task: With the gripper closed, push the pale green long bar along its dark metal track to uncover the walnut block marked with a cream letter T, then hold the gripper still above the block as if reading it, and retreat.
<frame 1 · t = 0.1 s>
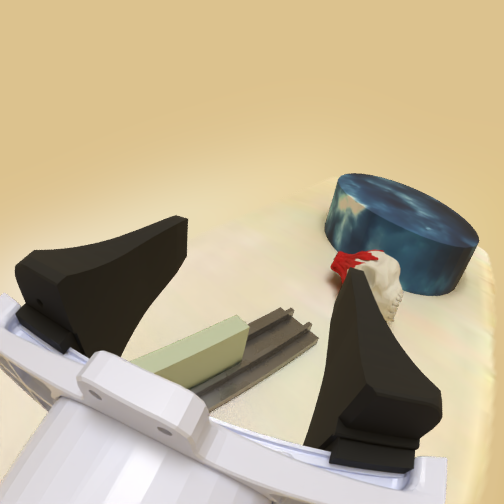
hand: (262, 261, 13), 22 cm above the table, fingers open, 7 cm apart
multicoloured piece: (359, 299, 49), on the table, touching cylinder
pale green long bar: (182, 369, 27), point 4 cm above the table, slide at 0.0 cm
track: (182, 392, 30), on the table
cylinder: (393, 250, 68), on the table, touching multicoloured piece
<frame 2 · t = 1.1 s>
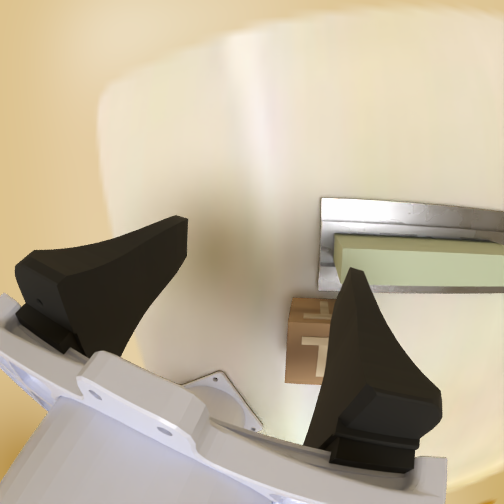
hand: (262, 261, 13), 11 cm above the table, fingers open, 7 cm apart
pale green long bar: (436, 258, 18), point 4 cm above the table, slide at 0.0 cm
track: (417, 247, 22), on the table
block: (321, 326, 25), on the table
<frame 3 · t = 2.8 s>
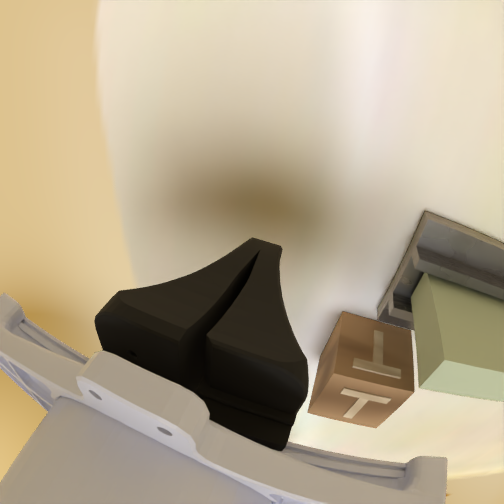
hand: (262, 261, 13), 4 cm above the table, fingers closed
track: (501, 299, 15), on the table
block: (363, 344, 20), on the table
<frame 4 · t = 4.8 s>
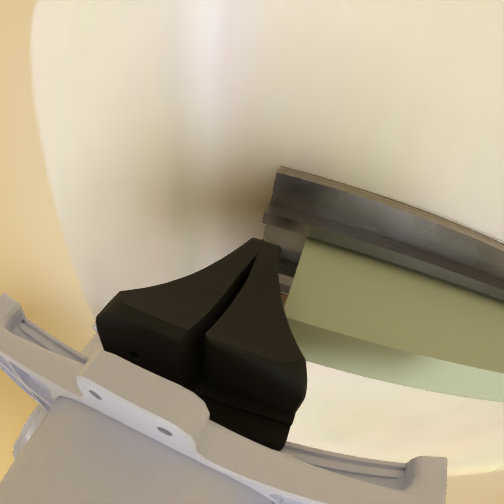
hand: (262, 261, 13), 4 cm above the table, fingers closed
pale green long bar: (432, 325, 12), point 4 cm above the table, slide at 1.2 cm, touching gripper
track: (404, 266, 16), on the table
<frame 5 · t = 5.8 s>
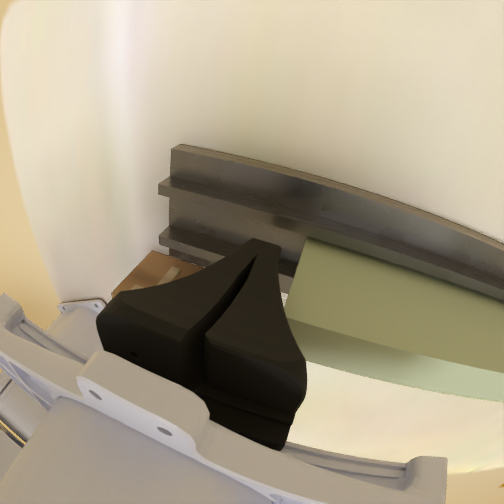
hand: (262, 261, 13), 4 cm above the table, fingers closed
pale green long bar: (432, 325, 12), point 4 cm above the table, slide at 6.9 cm, touching gripper
track: (309, 236, 17), on the table
block: (183, 287, 22), on the table
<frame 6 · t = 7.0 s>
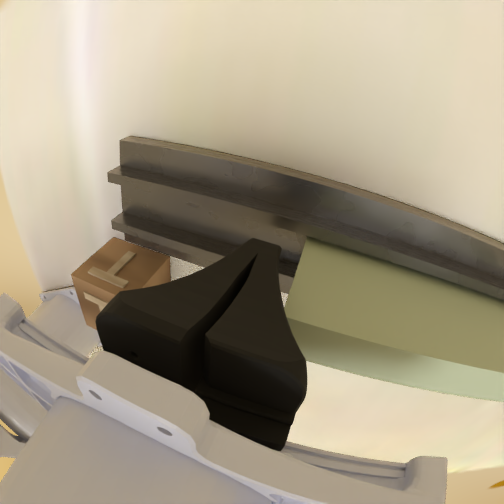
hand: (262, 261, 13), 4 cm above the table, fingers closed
pale green long bar: (433, 325, 12), point 4 cm above the table, slide at 10.5 cm, touching gripper
track: (247, 218, 18), on the table
block: (143, 272, 23), on the table
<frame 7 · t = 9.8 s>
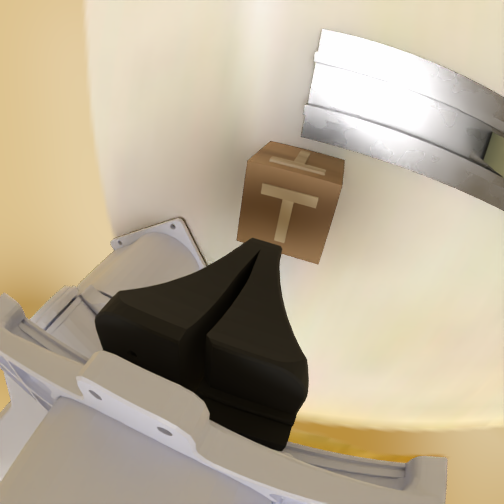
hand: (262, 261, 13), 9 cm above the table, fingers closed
track: (436, 121, 15), on the table
block: (300, 183, 21), on the table
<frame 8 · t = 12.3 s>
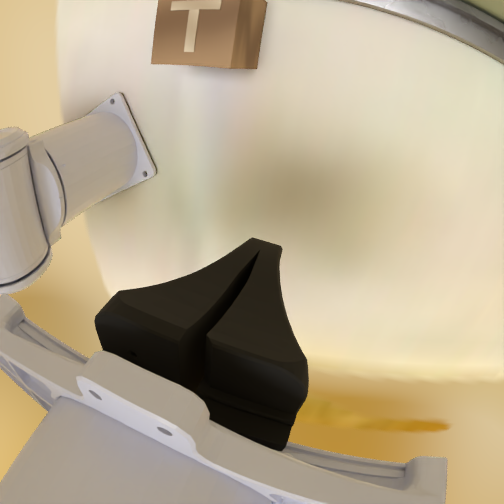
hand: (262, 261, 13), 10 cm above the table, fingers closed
block: (226, 32, 17), on the table
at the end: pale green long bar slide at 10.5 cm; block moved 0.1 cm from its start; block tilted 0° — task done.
